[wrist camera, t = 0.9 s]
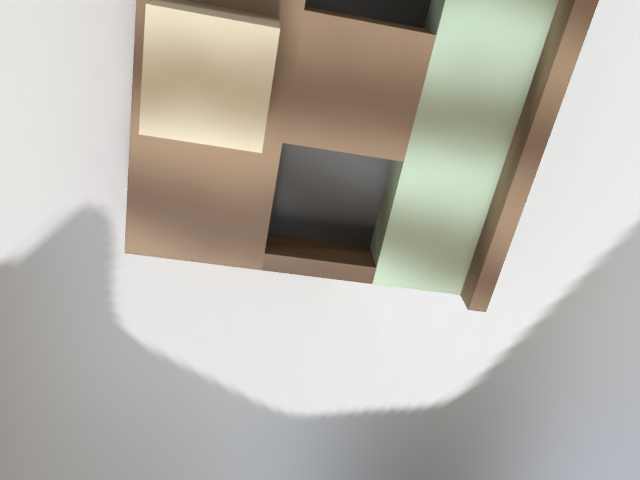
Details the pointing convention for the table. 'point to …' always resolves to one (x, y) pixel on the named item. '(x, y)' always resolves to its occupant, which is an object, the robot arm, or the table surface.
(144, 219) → the multicoloured piece
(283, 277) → the table surface
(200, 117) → the birch block
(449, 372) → the table surface
